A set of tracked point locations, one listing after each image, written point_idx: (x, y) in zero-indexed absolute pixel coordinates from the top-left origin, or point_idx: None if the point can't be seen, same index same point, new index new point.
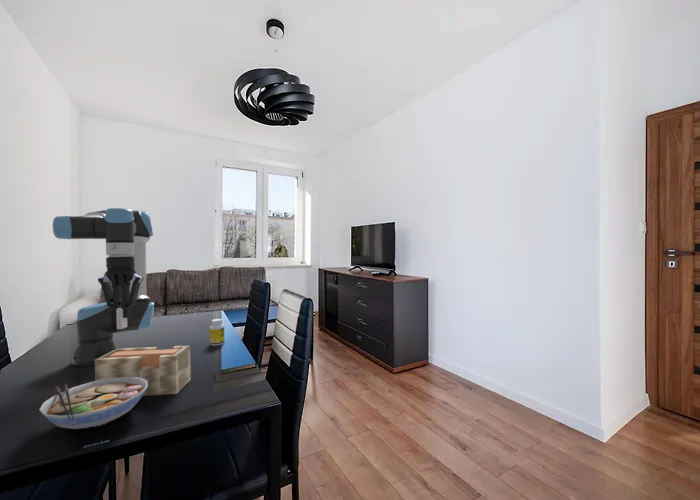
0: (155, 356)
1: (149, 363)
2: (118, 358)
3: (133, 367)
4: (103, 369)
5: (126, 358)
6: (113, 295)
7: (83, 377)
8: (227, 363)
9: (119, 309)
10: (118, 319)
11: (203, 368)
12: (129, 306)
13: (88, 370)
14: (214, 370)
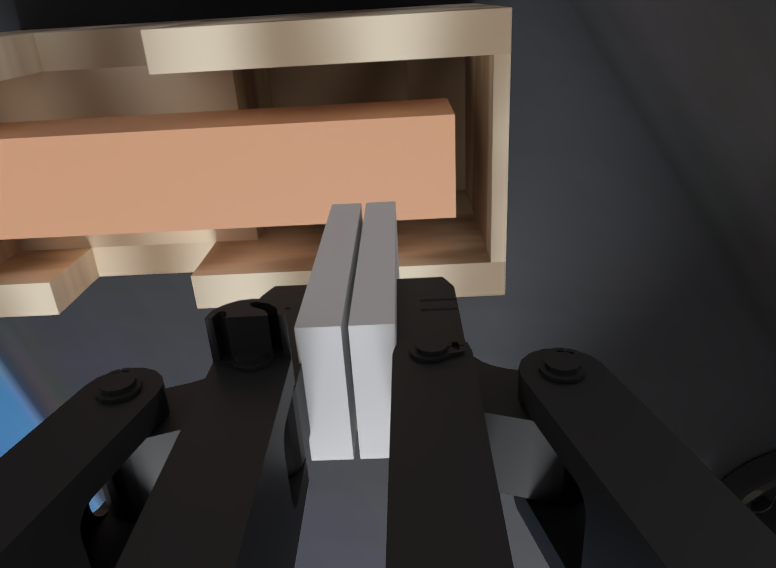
0: (89, 129)
1: (157, 118)
2: (317, 26)
3: (211, 23)
4: (435, 9)
5: (245, 23)
6: (487, 551)
7: (729, 303)
8: (11, 424)
9: (340, 323)
10: (371, 248)
11: (105, 369)
12: (170, 390)
13: (757, 393)
14: (21, 338)
